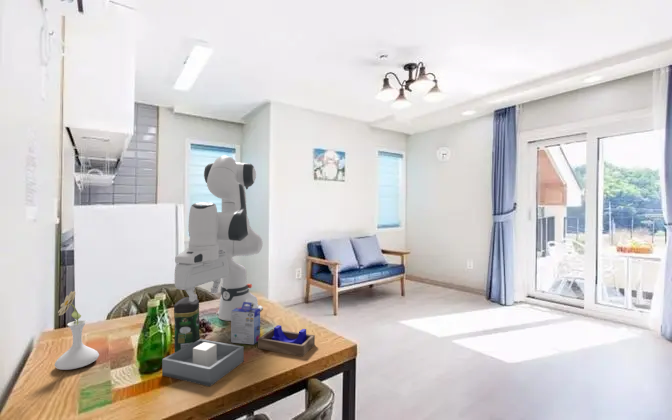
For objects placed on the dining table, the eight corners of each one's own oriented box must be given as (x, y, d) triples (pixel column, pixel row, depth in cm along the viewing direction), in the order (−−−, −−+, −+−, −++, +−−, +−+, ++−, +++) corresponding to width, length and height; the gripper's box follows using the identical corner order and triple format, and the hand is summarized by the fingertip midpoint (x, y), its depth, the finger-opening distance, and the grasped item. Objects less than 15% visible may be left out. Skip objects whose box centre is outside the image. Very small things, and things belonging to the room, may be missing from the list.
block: (204, 360, 108) (204, 342, 108) (216, 362, 106) (216, 344, 106) (192, 367, 103) (192, 348, 103) (205, 369, 101) (205, 350, 101)
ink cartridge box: (261, 339, 127) (260, 302, 127) (254, 345, 121) (254, 306, 121) (237, 337, 129) (237, 300, 129) (230, 343, 123) (230, 304, 123)
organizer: (272, 337, 128) (272, 329, 128) (314, 344, 122) (314, 335, 122) (258, 348, 119) (258, 338, 119) (302, 356, 112) (302, 346, 112)
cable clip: (271, 345, 122) (271, 329, 122) (278, 340, 126) (278, 325, 126) (300, 350, 118) (300, 333, 118) (306, 345, 122) (306, 329, 122)
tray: (200, 352, 115) (200, 338, 115) (243, 361, 109) (243, 346, 109) (162, 375, 100) (162, 359, 100) (209, 386, 94) (209, 369, 94)
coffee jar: (178, 345, 121) (178, 295, 121) (201, 343, 123) (201, 294, 122) (171, 357, 112) (170, 303, 111) (196, 355, 113) (195, 302, 113)
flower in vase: (61, 360, 109) (60, 286, 109) (102, 354, 114) (101, 282, 114) (46, 379, 98) (45, 296, 97) (92, 371, 102) (91, 292, 102)
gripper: (218, 248, 115) (218, 287, 115) (170, 258, 95) (170, 305, 96) (233, 249, 112) (233, 289, 113) (187, 259, 93) (187, 307, 94)
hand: (204, 296), depth 104 cm, fingers open, 8 cm apart
